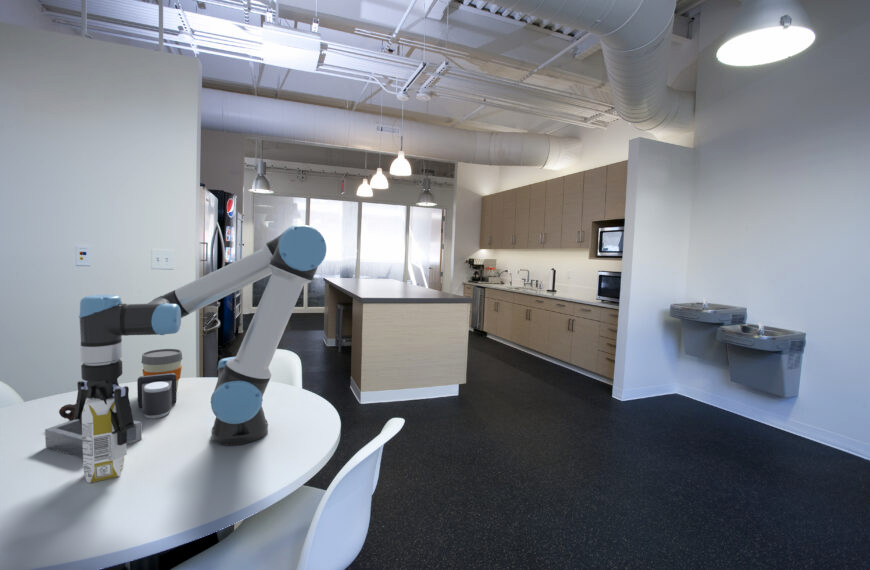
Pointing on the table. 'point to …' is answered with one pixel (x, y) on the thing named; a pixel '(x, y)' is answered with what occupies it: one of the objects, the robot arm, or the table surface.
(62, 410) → the brown ring with handle
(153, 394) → the wireless charger stand
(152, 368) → the reusable coffee cup
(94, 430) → the juice carton
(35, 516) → the table surface
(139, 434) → the dock
